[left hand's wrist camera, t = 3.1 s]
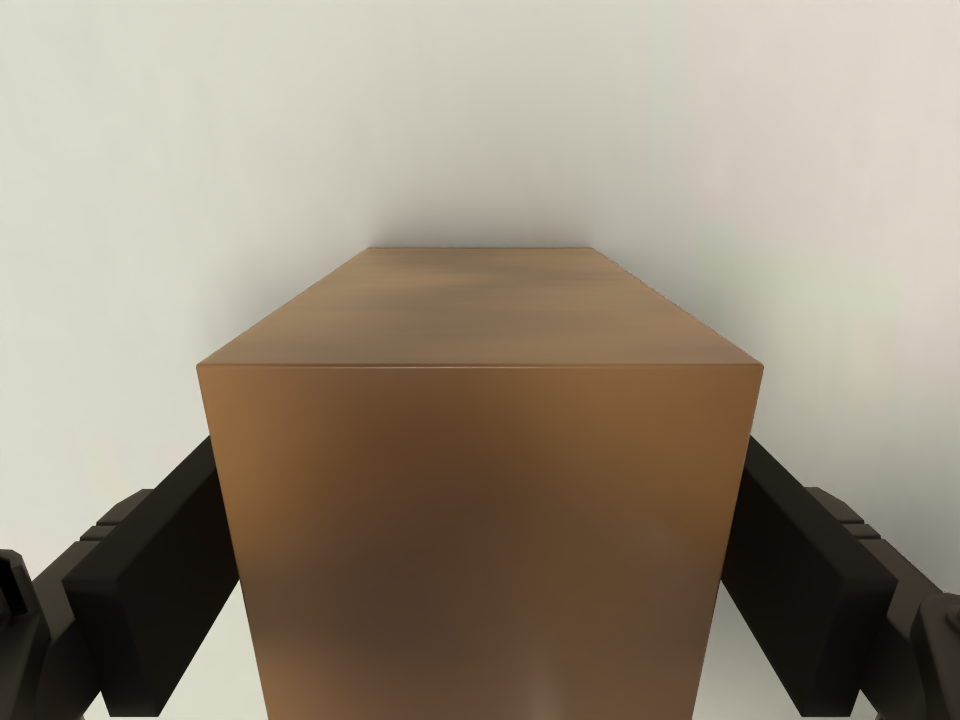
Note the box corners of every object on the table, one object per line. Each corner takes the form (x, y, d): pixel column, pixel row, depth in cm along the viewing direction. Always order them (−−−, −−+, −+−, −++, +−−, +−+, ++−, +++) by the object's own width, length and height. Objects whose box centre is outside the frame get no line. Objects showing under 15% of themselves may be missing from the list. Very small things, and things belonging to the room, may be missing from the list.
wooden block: (593, 247, 17) (766, 364, 7) (576, 468, 20) (679, 784, 10) (366, 247, 17) (193, 364, 7) (383, 468, 20) (280, 784, 10)
